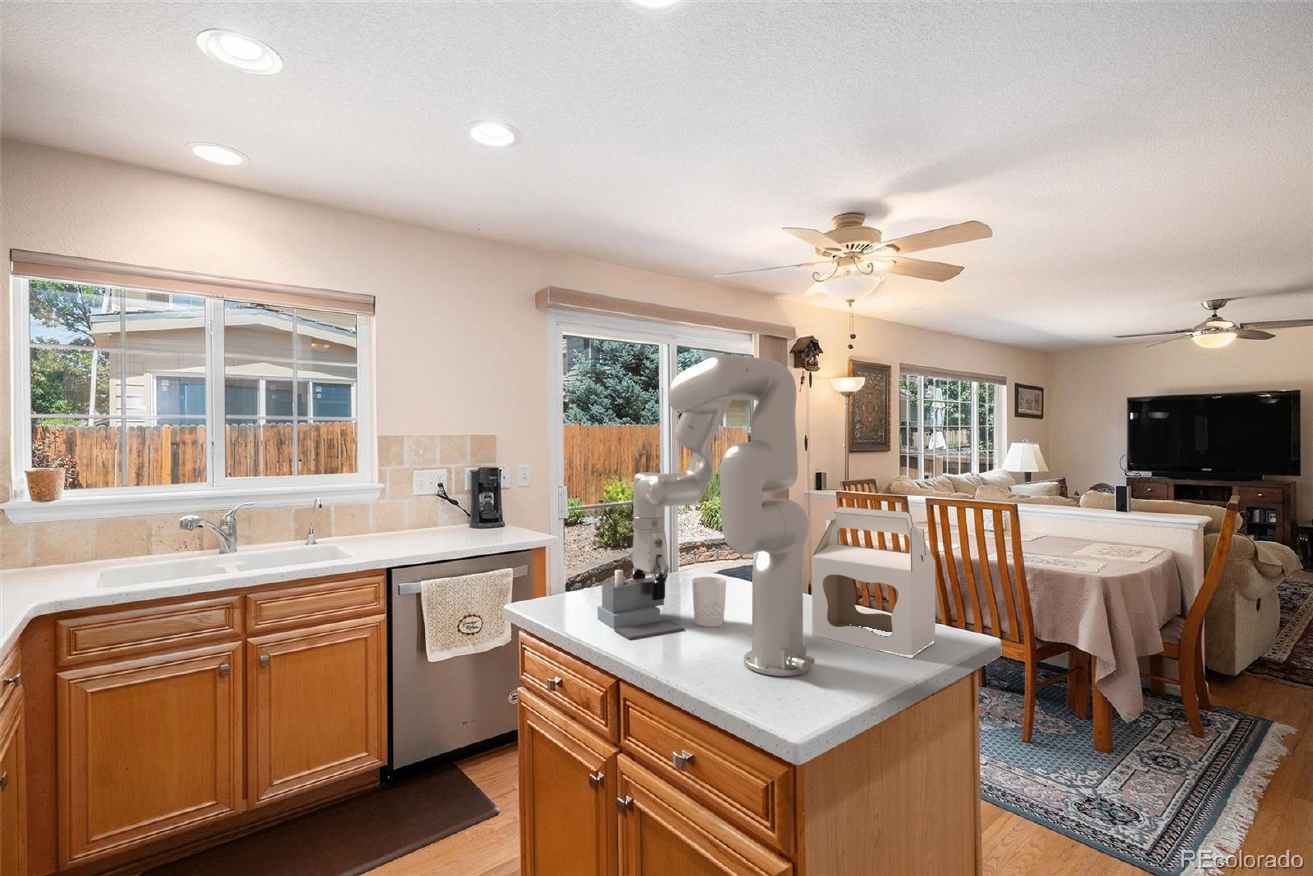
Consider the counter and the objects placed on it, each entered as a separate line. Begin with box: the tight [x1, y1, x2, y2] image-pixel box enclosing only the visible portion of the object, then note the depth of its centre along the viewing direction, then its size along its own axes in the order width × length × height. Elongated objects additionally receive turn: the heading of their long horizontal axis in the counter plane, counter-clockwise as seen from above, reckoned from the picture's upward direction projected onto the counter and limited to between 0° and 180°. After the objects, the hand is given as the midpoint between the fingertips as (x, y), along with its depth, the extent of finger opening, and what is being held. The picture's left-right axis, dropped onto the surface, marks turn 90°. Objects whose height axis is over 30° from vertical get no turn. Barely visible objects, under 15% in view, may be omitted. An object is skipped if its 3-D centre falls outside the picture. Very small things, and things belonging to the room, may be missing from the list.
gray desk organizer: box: [601, 576, 665, 614], centre depth 151 cm, size 14×6×6 cm, turn 119°
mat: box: [614, 619, 686, 641], centre depth 142 cm, size 7×14×1 cm, turn 119°
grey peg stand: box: [597, 569, 661, 630], centre depth 150 cm, size 12×9×12 cm
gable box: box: [811, 506, 936, 655], centre depth 136 cm, size 22×13×28 cm, turn 47°
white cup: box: [691, 576, 727, 628], centre depth 148 cm, size 8×8×10 cm
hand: (648, 594), depth 153 cm, fingers open, 9 cm apart
